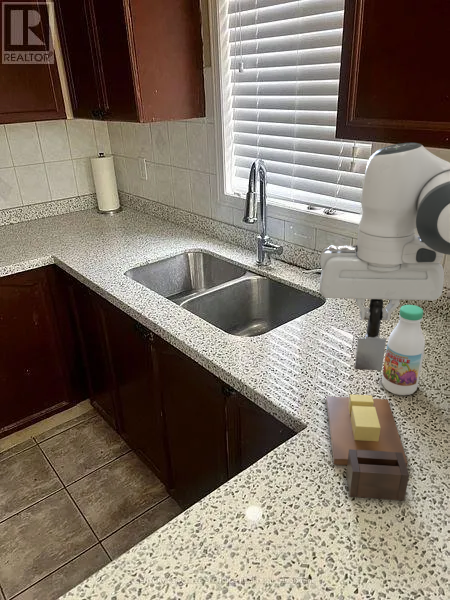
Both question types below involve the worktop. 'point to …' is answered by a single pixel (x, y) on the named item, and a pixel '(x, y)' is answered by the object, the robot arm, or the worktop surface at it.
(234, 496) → the worktop surface
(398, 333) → the milk bottle
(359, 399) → the butter slice
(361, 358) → the knife
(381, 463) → the knife block
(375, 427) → the butter block
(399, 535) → the worktop surface
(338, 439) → the board
